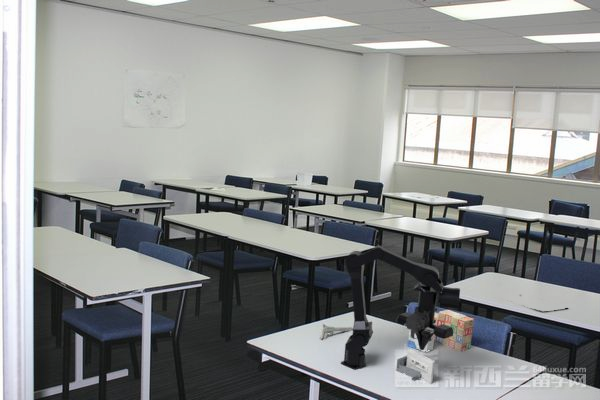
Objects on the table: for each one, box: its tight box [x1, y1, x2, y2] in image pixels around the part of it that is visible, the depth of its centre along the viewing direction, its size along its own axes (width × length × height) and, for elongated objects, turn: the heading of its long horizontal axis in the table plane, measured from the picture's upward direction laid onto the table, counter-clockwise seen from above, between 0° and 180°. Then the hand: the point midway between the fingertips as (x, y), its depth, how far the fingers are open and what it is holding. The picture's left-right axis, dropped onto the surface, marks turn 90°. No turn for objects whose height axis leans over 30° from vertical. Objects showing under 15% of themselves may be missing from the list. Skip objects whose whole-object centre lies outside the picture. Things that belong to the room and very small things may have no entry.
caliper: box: [319, 323, 353, 341], centre depth 231 cm, size 20×1×6 cm, turn 137°
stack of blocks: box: [434, 309, 475, 352], centre depth 233 cm, size 21×6×12 cm, turn 40°
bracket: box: [395, 355, 421, 382], centre depth 199 cm, size 9×9×4 cm
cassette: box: [406, 348, 436, 384], centre depth 197 cm, size 12×2×8 cm, turn 32°
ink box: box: [407, 323, 436, 351], centre depth 223 cm, size 8×5×12 cm, turn 47°
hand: (421, 349), depth 196 cm, fingers closed
